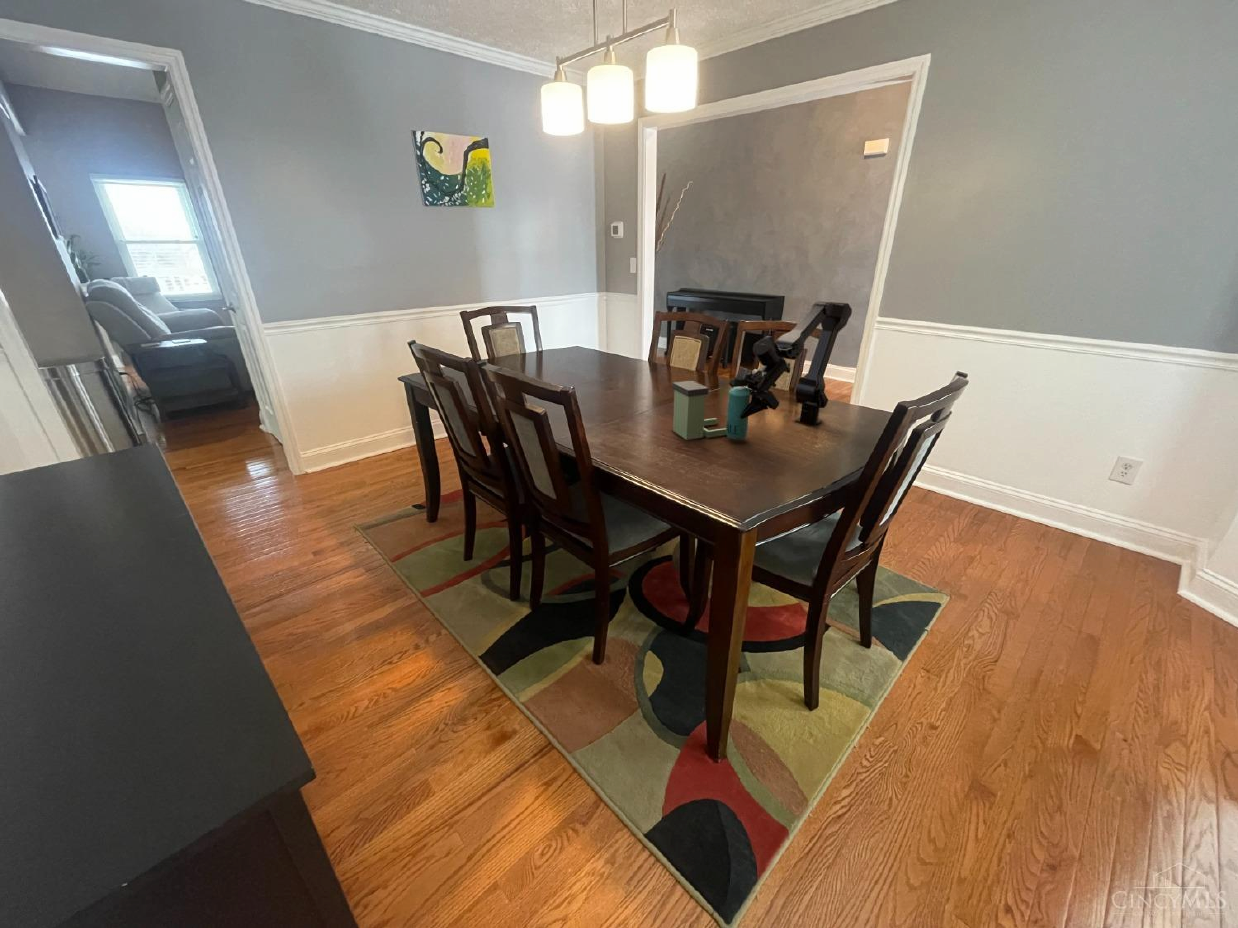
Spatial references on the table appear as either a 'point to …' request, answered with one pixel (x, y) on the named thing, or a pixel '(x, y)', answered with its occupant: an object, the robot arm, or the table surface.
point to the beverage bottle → (737, 409)
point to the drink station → (692, 411)
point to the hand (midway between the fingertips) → (734, 414)
